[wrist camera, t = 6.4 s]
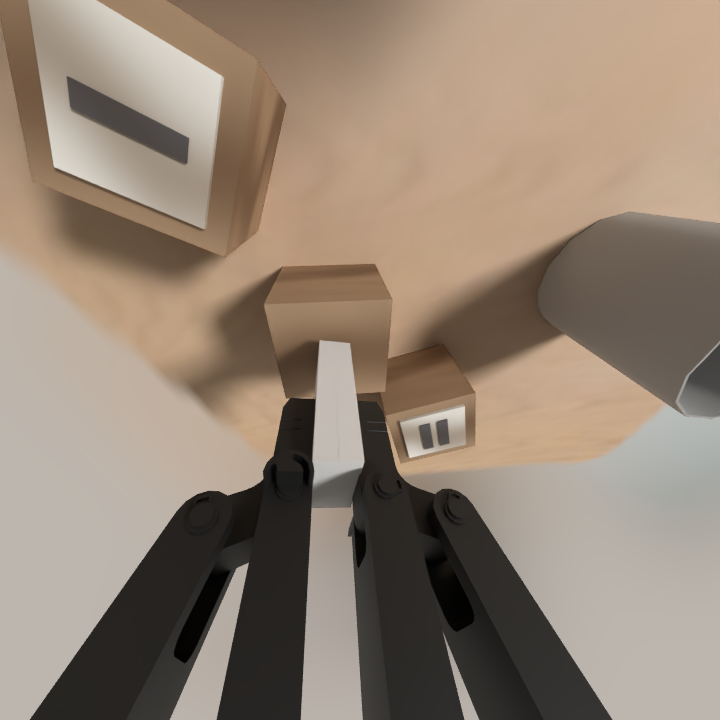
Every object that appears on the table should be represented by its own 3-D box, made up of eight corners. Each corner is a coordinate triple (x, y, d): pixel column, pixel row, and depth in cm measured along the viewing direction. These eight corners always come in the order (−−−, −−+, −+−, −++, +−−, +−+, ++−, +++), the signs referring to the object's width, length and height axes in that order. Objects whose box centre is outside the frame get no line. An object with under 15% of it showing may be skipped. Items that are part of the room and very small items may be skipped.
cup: (529, 336, 22) (645, 432, 14) (548, 233, 17) (748, 288, 9) (632, 311, 21) (817, 395, 13) (683, 197, 16) (1026, 220, 8)
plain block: (282, 266, 17) (263, 304, 12) (374, 263, 17) (392, 299, 12) (296, 344, 20) (286, 398, 15) (372, 340, 21) (385, 391, 16)
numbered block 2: (373, 362, 22) (386, 419, 17) (442, 343, 21) (477, 396, 16) (387, 408, 25) (401, 467, 20) (446, 392, 25) (476, 449, 20)
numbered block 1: (138, 13, 10) (-46, -141, 5) (286, 104, 12) (255, 55, 7) (140, 178, 13) (23, 181, 8) (258, 230, 15) (222, 259, 10)
